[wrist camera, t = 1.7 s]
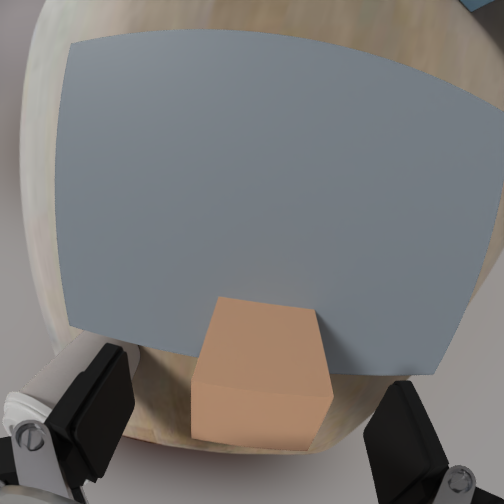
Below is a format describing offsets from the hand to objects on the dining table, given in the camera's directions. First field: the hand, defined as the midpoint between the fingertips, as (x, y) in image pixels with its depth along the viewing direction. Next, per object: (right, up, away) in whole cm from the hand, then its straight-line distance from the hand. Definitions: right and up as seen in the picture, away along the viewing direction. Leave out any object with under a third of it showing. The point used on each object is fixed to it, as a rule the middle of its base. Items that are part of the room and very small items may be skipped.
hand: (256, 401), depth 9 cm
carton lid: (+1, +7, +2) cm, 7 cm away
